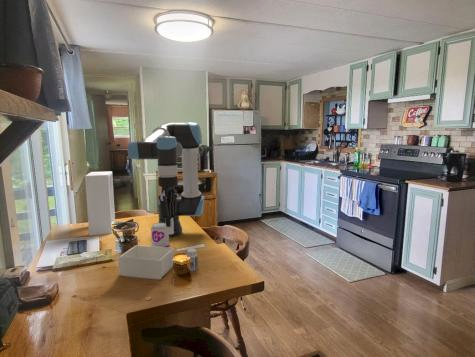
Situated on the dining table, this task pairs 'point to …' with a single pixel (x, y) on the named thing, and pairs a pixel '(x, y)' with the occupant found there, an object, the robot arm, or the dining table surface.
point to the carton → (146, 262)
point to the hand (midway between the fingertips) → (169, 233)
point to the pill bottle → (193, 259)
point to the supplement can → (159, 235)
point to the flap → (133, 257)
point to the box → (100, 202)
